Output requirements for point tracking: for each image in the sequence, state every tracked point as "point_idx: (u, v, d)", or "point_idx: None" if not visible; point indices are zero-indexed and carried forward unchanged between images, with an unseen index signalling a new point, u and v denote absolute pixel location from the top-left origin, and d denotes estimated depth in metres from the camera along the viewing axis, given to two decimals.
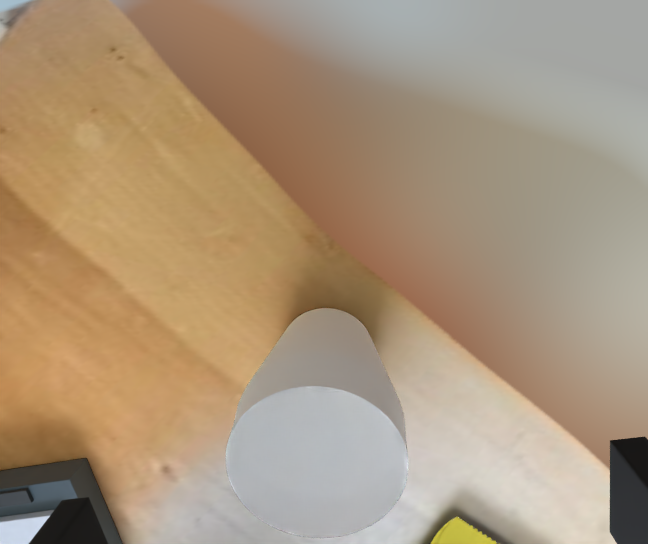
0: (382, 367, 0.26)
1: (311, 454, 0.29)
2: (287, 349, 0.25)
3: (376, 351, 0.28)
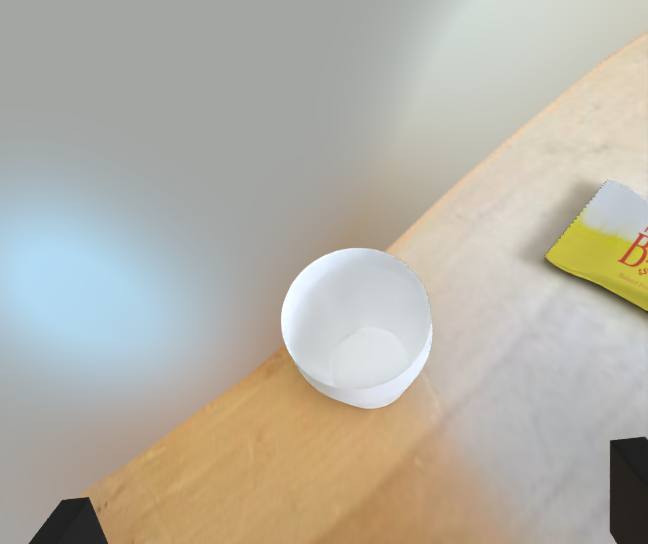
0: (330, 291, 0.33)
1: None
2: (297, 357, 0.30)
3: (342, 308, 0.35)
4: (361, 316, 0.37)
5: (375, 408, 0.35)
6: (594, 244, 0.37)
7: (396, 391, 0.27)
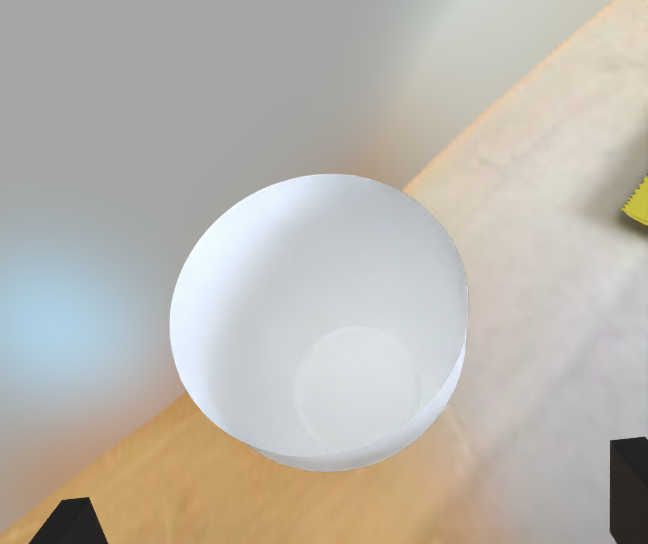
0: (284, 266, 0.20)
1: (445, 378, 0.17)
2: (221, 381, 0.17)
3: (308, 296, 0.22)
4: (341, 309, 0.24)
5: None
6: None
7: (400, 448, 0.13)
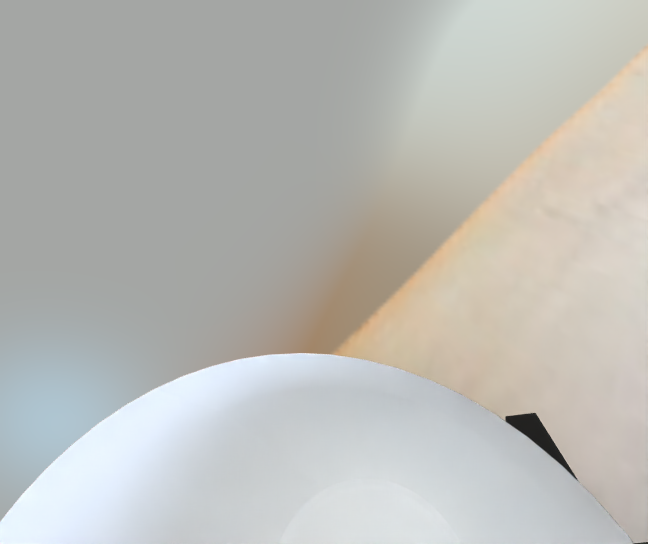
0: (243, 448, 0.11)
1: None
2: None
3: (292, 466, 0.13)
4: (347, 467, 0.15)
5: None
6: None
7: None
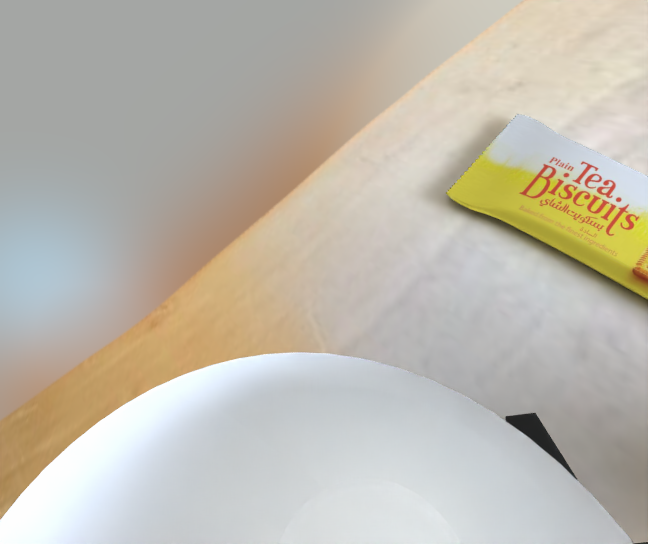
0: (243, 447, 0.11)
1: None
2: None
3: (291, 466, 0.13)
4: (347, 467, 0.15)
5: None
6: (497, 178, 0.35)
7: None
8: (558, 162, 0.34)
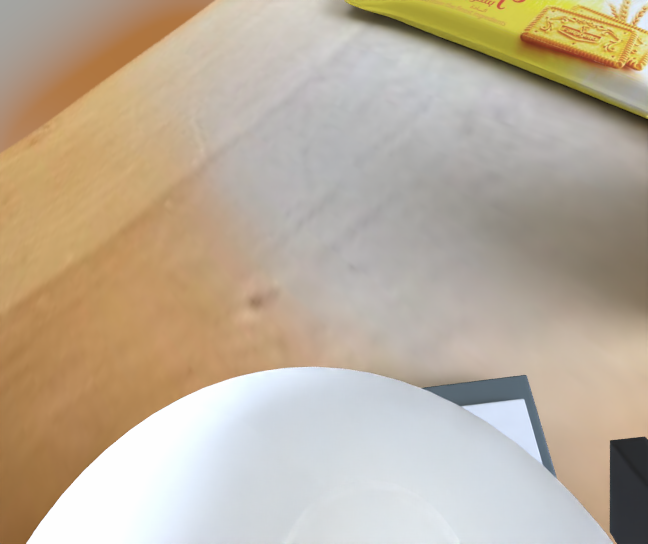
0: (254, 451, 0.11)
1: None
2: None
3: (298, 468, 0.14)
4: (351, 469, 0.15)
5: None
6: None
7: None
8: None
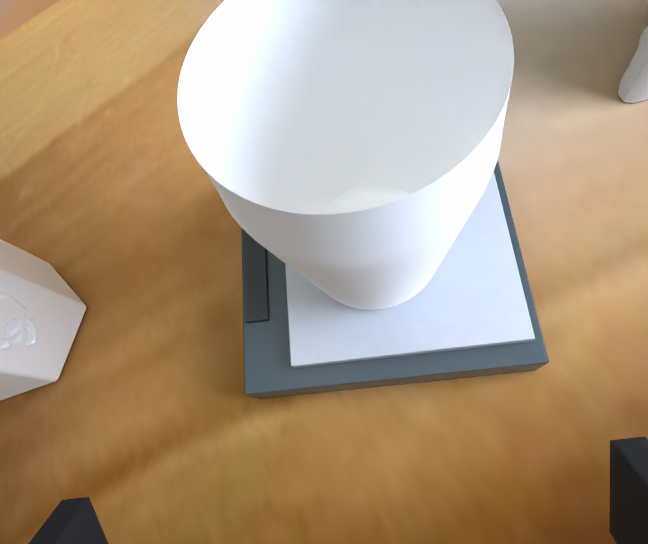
0: (299, 93, 0.18)
1: None
2: None
3: (324, 140, 0.21)
4: (358, 162, 0.22)
5: (382, 308, 0.21)
6: None
7: (429, 238, 0.12)
8: None
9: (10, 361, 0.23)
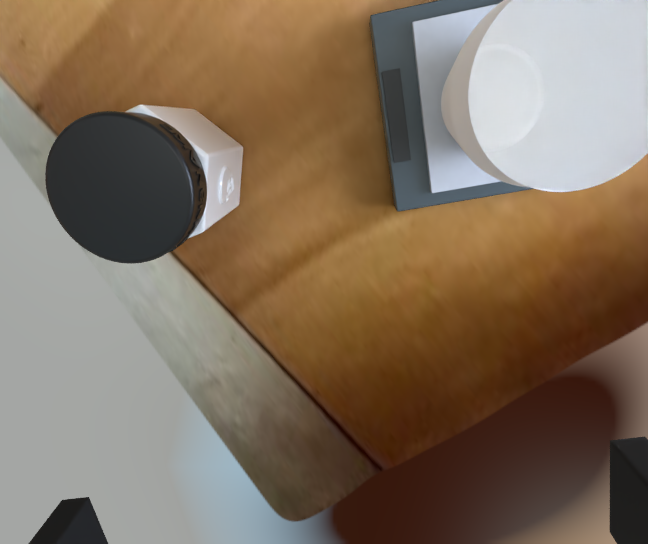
0: None
1: (601, 110, 0.24)
2: (452, 128, 0.24)
3: None
4: (495, 35, 0.27)
5: (498, 151, 0.31)
6: None
7: (591, 172, 0.22)
8: None
9: (228, 206, 0.33)
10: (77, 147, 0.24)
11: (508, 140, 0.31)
